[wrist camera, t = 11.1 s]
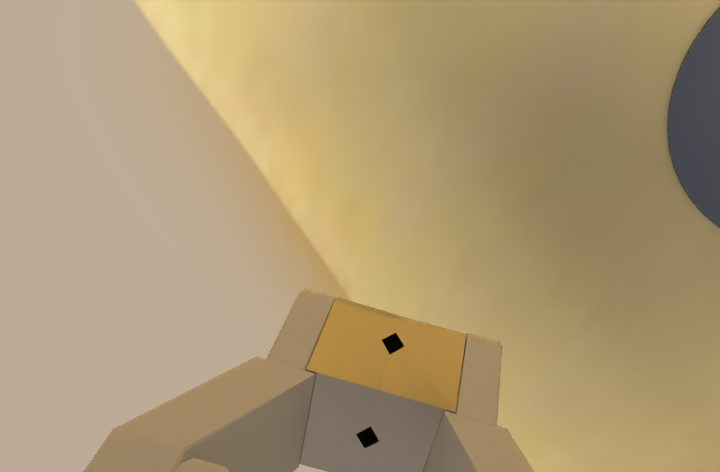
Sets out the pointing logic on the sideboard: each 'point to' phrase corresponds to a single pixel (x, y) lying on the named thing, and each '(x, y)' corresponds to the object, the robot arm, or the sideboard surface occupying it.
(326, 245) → the sideboard surface
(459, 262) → the sideboard surface
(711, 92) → the dark gray round plate
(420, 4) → the sideboard surface
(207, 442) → the robot arm
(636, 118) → the sideboard surface
